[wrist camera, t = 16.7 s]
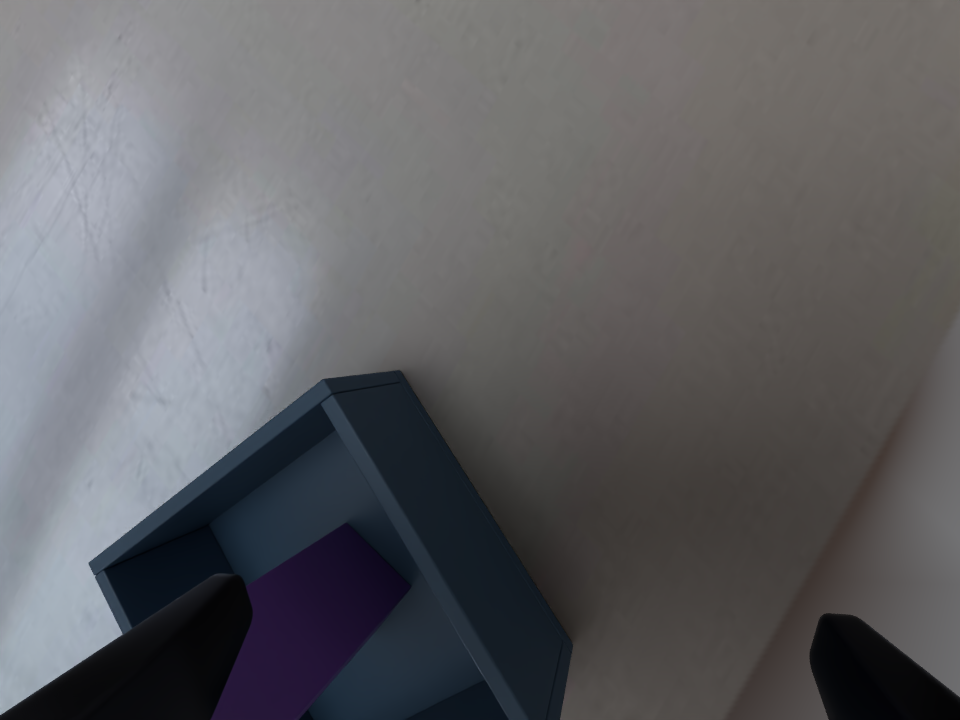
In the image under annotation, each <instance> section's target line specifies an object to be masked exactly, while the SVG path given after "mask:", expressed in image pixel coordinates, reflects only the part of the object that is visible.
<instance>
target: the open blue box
mask: <svg viewBox="0 0 960 720" xmlns="http://www.w3.org/2000/svg"><path fill="white" fill-rule="evenodd" d="M344 523H348V524H349V525H350V526H351V527H352V528H353V529H354V530H355V531H356V532H357V533H358V534H359V535H360V536H361V537H362V538H363V539H364V540H365V541H366V542H367V543H368V544H369V545H370V546H371V547H372V548H373V549H374V550H375V551H376V552H377V553H378V554H379V555H380V556H381V557H382V558H383V559H384V560H385V561H386V562H387V563H388V564H389V565H390V566H391V567H392V568H393V569H394V570H395V571H396V572H397V573H398V574H399V575H400V576H401V577H402V578H403V579H404V580H405V581H406V582H407V583H408V584H409V585H410V586H411V588H410V590H409V591H408V592H407V594H406V595H405V596H404V597H403V599H402V600H401V601H400V602H399V603H398V605H397V606H396V607H395V608H394V610H393V611H392V612H391V613H390V614H389V616H388V617H387V618H386V619H385V621H384V622H383V623H382V624H381V625H380V627H379V628H378V629H377V630H376V632H375V633H374V634H373V635H372V636H371V637H370V639H369V640H368V641H367V642H366V643H365V644H364V645H363V647H362V648H361V649H360V650H359V651H358V652H357V653H356V655H355V656H354V657H353V658H352V659H351V660H350V661H349V663H348V664H347V665H346V666H345V667H344V668H343V669H342V671H341V672H340V673H339V674H338V675H337V676H336V678H335V679H334V680H333V681H332V682H331V683H330V684H329V686H328V687H327V688H326V689H325V690H324V691H323V692H322V694H321V695H320V696H319V697H318V698H317V699H316V700H315V702H314V703H313V704H312V705H311V706H310V707H309V708H308V710H307V711H306V712H305V713H304V714H303V715H302V716H301V718H300V719H299V720H560V715H561V710H562V704H563V699H564V693H565V687H566V682H567V676H568V670H569V665H570V659H571V653H572V648H573V644H572V642H571V641H570V639H569V638H568V636H567V635H566V633H565V631H564V630H563V628H562V627H561V625H560V623H559V622H558V620H557V619H556V617H555V616H554V614H553V612H552V611H551V609H550V608H549V606H548V604H547V603H546V601H545V600H544V598H543V597H542V595H541V593H540V592H539V590H538V589H537V587H536V585H535V584H534V582H533V581H532V579H531V577H530V576H529V574H528V573H527V571H526V570H525V568H524V566H523V565H522V563H521V562H520V560H519V558H518V557H517V555H516V554H515V552H514V551H513V549H512V547H511V546H510V544H509V543H508V541H507V539H506V538H505V536H504V535H503V533H502V532H501V530H500V528H499V527H498V525H497V524H496V522H495V520H494V519H493V517H492V516H491V514H490V512H489V511H488V509H487V508H486V506H485V505H484V503H483V501H482V500H481V498H480V497H479V495H478V493H477V492H476V490H475V489H474V487H473V486H472V484H471V482H470V481H469V479H468V478H467V476H466V474H465V473H464V471H463V470H462V468H461V467H460V465H459V463H458V462H457V460H456V459H455V457H454V455H453V454H452V452H451V451H450V449H449V447H448V446H447V444H446V443H445V441H444V440H443V438H442V436H441V435H440V433H439V432H438V430H437V428H436V427H435V425H434V424H433V422H432V421H431V419H430V417H429V416H428V414H427V413H426V411H425V409H424V408H423V406H422V405H421V403H420V402H419V400H418V398H417V397H416V395H415V394H414V392H413V390H412V389H411V387H410V386H409V384H408V382H407V381H406V379H405V378H404V376H403V375H402V373H401V371H400V370H396V371H388V372H380V373H371V374H363V375H354V376H345V377H337V378H328V379H322V380H321V381H320V382H319V383H317V384H316V385H315V386H313V387H312V388H311V389H310V390H308V391H307V392H306V393H305V394H303V395H302V396H301V397H299V398H298V399H297V400H296V401H294V402H293V403H292V404H290V405H289V406H288V407H287V408H285V409H284V410H283V411H282V412H280V413H279V414H278V415H276V416H275V417H274V418H273V419H271V420H270V421H269V422H268V423H266V424H265V425H264V426H262V427H261V428H260V429H259V430H257V431H256V432H255V433H254V434H252V435H251V436H250V437H248V438H247V439H246V440H245V441H243V442H242V443H241V444H239V445H238V446H237V447H236V448H234V449H233V450H232V451H231V452H229V453H228V454H227V455H225V456H224V457H223V458H222V459H220V460H219V461H218V462H217V463H215V464H214V465H213V466H211V467H210V468H209V469H208V470H206V471H205V472H204V473H203V474H201V475H200V476H199V477H197V478H196V479H195V480H194V481H192V482H191V483H190V484H189V485H187V486H186V487H185V488H183V489H182V490H181V491H180V492H178V493H177V494H176V495H174V496H173V497H172V498H171V499H169V500H168V501H167V502H166V503H164V504H163V505H162V506H160V507H159V508H158V509H157V510H155V511H154V512H153V513H152V514H150V515H149V516H148V517H146V518H145V519H144V520H143V521H141V522H140V523H139V524H138V525H136V526H135V527H134V528H132V529H131V530H130V531H129V532H127V533H126V534H125V535H123V536H122V537H121V538H120V539H118V540H117V541H116V542H115V543H113V544H112V545H111V546H109V547H108V548H107V549H106V550H104V551H103V552H102V553H101V554H99V555H98V556H97V557H95V558H94V559H93V560H92V561H90V562H89V566H90V568H91V570H92V572H93V574H94V575H96V576H95V578H96V580H97V582H98V584H99V587H100V589H101V591H102V593H103V595H104V597H105V599H106V601H107V603H108V605H109V607H110V609H111V611H112V613H113V615H114V617H115V619H116V621H117V623H118V625H119V627H120V629H121V631H122V633H123V634H124V633H126V632H127V631H129V630H130V629H132V628H133V627H135V626H136V625H138V624H140V623H141V622H143V621H144V620H146V619H147V618H149V617H150V616H152V615H153V614H155V613H156V612H158V611H159V610H161V609H162V608H164V607H165V606H167V605H168V604H170V603H171V602H173V601H174V600H176V599H177V598H179V597H180V596H182V595H183V594H185V593H186V592H188V591H190V590H191V589H193V588H194V587H196V586H197V585H199V584H200V583H202V582H203V581H205V580H206V579H208V578H209V577H211V576H213V575H215V574H218V573H226V574H238V575H240V576H241V577H242V578H243V580H244V582H245V585H246V586H247V585H248V584H250V583H252V582H253V581H255V580H256V579H258V578H259V577H261V576H263V575H264V574H266V573H267V572H269V571H270V570H272V569H274V568H275V567H277V566H278V565H280V564H281V563H283V562H285V561H286V560H288V559H289V558H291V557H292V556H294V555H296V554H297V553H299V552H300V551H302V550H303V549H305V548H307V547H308V546H310V545H311V544H313V543H314V542H316V541H318V540H319V539H321V538H322V537H324V536H325V535H327V534H329V533H330V532H332V531H333V530H335V529H336V528H338V527H340V526H341V525H343V524H344Z"/></svg>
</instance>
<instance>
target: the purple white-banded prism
mask: <svg viewBox="0 0 960 720" xmlns="http://www.w3.org/2000/svg"><path fill="white" fill-rule="evenodd" d="M410 588H411V586H410V585H409V584H408V583H407V582H406V581H405V580H404V579H403V578H402V577H401V576H400V575H399V574H398V573H397V572H396V571H395V570H394V569H393V568H392V567H391V566H390V565H389V564H388V563H387V562H386V561H385V560H384V559H383V558H382V557H381V556H380V555H379V554H378V553H377V552H376V551H375V550H374V549H373V548H372V547H371V546H370V545H369V544H368V543H367V542H366V541H365V540H364V539H363V538H362V537H361V536H360V535H359V534H358V533H357V532H356V531H355V530H354V529H353V528H352V527H351V526H350V525H349V524H348V523H344V524H343V525H341V526H340V527H338V528H336V529H335V530H333V531H332V532H330V533H329V534H327V535H325V536H324V537H322V538H321V539H319V540H318V541H316V542H314V543H313V544H311V545H310V546H308V547H307V548H305V549H303V550H302V551H300V552H299V553H297V554H296V555H294V556H292V557H291V558H289V559H288V560H286V561H285V562H283V563H281V564H280V565H278V566H277V567H275V568H274V569H272V570H270V571H269V572H267V573H266V574H264V575H263V576H261V577H259V578H258V579H256V580H255V581H253V582H252V583H250V584H248V585H247V586H246V589H247V592H248V595H249V598H250V601H251V604H252V608H253V618H252V622H251V625H250V628H249V630H248V633H247V635H246V637H245V640H244V642H243V645H242V647H241V649H240V652H239V654H238V657H237V659H236V661H235V664H234V666H233V669H232V671H231V673H230V676H229V678H228V680H227V683H226V685H225V688H224V690H223V692H222V695H221V697H220V700H219V702H218V704H217V707H216V709H215V711H214V713H213V716H212V718H211V720H299V719H300V718H301V716H302V715H303V714H304V713H305V712H306V711H307V710H308V708H309V707H310V706H311V705H312V704H313V703H314V702H315V700H316V699H317V698H318V697H319V696H320V695H321V694H322V692H323V691H324V690H325V689H326V688H327V687H328V686H329V684H330V683H331V682H332V681H333V680H334V679H335V678H336V676H337V675H338V674H339V673H340V672H341V671H342V669H343V668H344V667H345V666H346V665H347V664H348V663H349V661H350V660H351V659H352V658H353V657H354V656H355V655H356V653H357V652H358V651H359V650H360V649H361V648H362V647H363V645H364V644H365V643H366V642H367V641H368V640H369V639H370V637H371V636H372V635H373V634H374V633H375V632H376V630H377V629H378V628H379V627H380V625H381V624H382V623H383V622H384V621H385V619H386V618H387V617H388V616H389V614H390V613H391V612H392V611H393V610H394V608H395V607H396V606H397V605H398V603H399V602H400V601H401V600H402V599H403V597H404V596H405V595H406V594H407V592H408V591H409V590H410Z"/></svg>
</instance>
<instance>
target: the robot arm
mask: <svg viewBox="0 0 960 720" xmlns="http://www.w3.org/2000/svg"><path fill="white" fill-rule="evenodd" d="M252 618H253V608H252V604H251V601H250V598H249V595H248V592H247V589H246V585H245V582H244V580H243V578H242V577H241V576H240V575H238V574H226V573H218V574H215V575H213V576H211V577H209V578H208V579H206V580H205V581H203V582H202V583H200V584H199V585H197V586H196V587H194V588H193V589H191V590H190V591H188V592H186V593H185V594H183V595H182V596H180V597H179V598H177V599H176V600H174V601H173V602H171V603H170V604H168V605H167V606H165V607H164V608H162V609H161V610H159V611H158V612H156V613H155V614H153V615H152V616H150V617H149V618H147V619H146V620H144V621H143V622H141V623H140V624H138V625H136V626H135V627H133V628H132V629H130V630H129V631H127V632H126V633H124V634H123V635H121V636H120V637H118V638H117V639H115V640H114V641H112V642H111V643H109V644H108V645H106V646H105V647H103V648H102V649H100V650H99V651H97V652H96V653H94V654H93V655H91V656H89V657H88V658H86V659H85V660H83V661H82V662H80V663H79V664H77V665H76V666H74V667H73V668H71V669H70V670H68V671H67V672H65V673H64V674H62V675H61V676H59V677H58V678H56V679H55V680H53V681H52V682H50V683H49V684H47V685H46V686H44V687H43V688H41V689H39V690H38V691H36V692H35V693H33V694H32V695H30V696H29V697H27V698H26V699H24V700H23V701H21V702H20V703H18V704H17V705H15V706H14V707H12V708H11V709H9V710H8V711H6V712H5V713H3V714H2V715H0V720H211V718H212V716H213V713H214V711H215V709H216V707H217V704H218V702H219V700H220V697H221V695H222V692H223V690H224V688H225V685H226V683H227V680H228V678H229V676H230V673H231V671H232V669H233V666H234V664H235V661H236V659H237V657H238V654H239V652H240V649H241V647H242V645H243V642H244V640H245V637H246V635H247V633H248V630H249V628H250V625H251V622H252ZM810 665H811V669H812V673H813V676H814V678H815V681H816V684H817V687H818V690H819V693H820V695H821V698H822V701H823V704H824V707H825V709H826V713H827V716H828V719H829V720H960V697H959V696H957V695H956V694H955V693H954V692H952V691H951V690H950V689H949V688H947V687H946V686H945V685H943V684H942V683H941V682H940V681H938V680H937V679H936V678H935V677H933V676H932V675H931V674H930V673H928V672H927V671H926V670H924V669H923V668H922V667H921V666H919V665H918V664H917V663H916V662H914V661H913V660H912V659H911V658H909V657H908V656H907V655H905V654H904V653H903V652H902V651H900V650H899V649H898V648H897V647H895V646H894V645H893V644H892V643H890V642H889V641H888V640H886V639H885V638H884V637H883V636H882V635H880V634H879V633H878V632H876V631H875V630H874V629H873V628H871V627H870V626H869V625H868V624H866V623H865V622H864V621H862V620H861V619H859V618H858V617H856V616H853V615H846V614H831V613H826V614H823V615H822V616H821V617H820V619H819V621H818V625H817V628H816V632H815V635H814V639H813V642H812V646H811V649H810Z"/></svg>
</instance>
